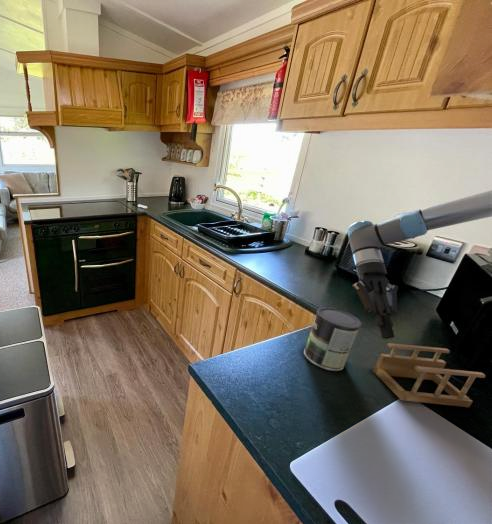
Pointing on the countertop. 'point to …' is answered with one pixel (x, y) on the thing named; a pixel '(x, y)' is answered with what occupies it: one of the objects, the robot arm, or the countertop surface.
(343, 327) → the coffee can
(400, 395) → the rack
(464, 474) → the countertop surface
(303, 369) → the countertop surface
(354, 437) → the countertop surface
